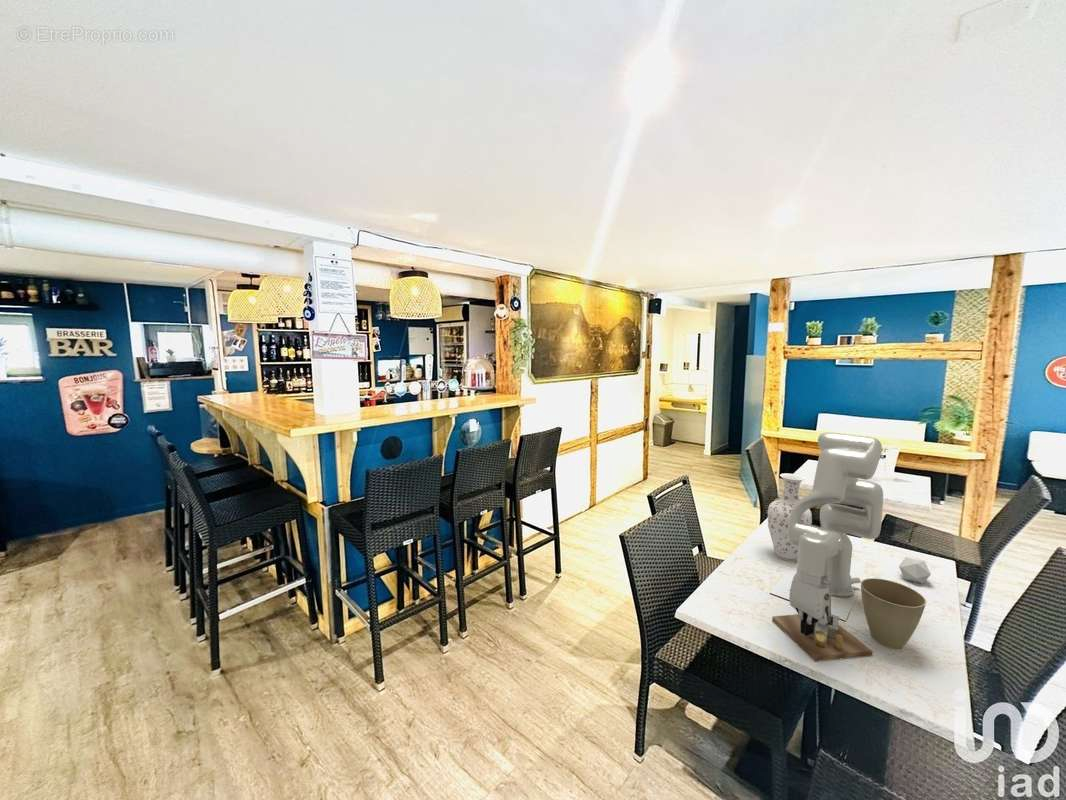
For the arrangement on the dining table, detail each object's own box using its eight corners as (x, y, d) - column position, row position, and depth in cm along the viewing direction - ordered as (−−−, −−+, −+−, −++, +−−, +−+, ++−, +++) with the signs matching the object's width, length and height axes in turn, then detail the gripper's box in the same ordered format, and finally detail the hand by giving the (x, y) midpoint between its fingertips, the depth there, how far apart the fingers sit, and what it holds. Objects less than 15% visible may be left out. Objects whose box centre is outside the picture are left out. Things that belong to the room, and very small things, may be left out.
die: (919, 590, 155) (940, 570, 154) (893, 570, 161) (913, 551, 159) (915, 588, 162) (935, 569, 161) (890, 569, 167) (909, 551, 166)
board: (822, 616, 139) (824, 595, 138) (872, 655, 121) (874, 631, 121) (772, 620, 137) (773, 599, 136) (815, 661, 119) (817, 636, 118)
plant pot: (849, 620, 137) (854, 574, 135) (907, 631, 132) (912, 584, 130) (865, 650, 124) (870, 599, 122) (930, 664, 118) (936, 611, 116)
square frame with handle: (807, 615, 137) (808, 605, 136) (838, 625, 132) (839, 614, 132) (803, 641, 125) (804, 630, 124) (836, 653, 120) (837, 641, 120)
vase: (818, 565, 172) (825, 482, 168) (779, 566, 171) (786, 482, 167) (791, 546, 188) (797, 470, 184) (756, 547, 187) (762, 471, 183)
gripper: (846, 586, 120) (840, 645, 122) (795, 561, 134) (791, 615, 136) (829, 592, 117) (823, 652, 119) (779, 566, 131) (775, 621, 133)
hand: (806, 632), depth 128 cm, fingers closed
